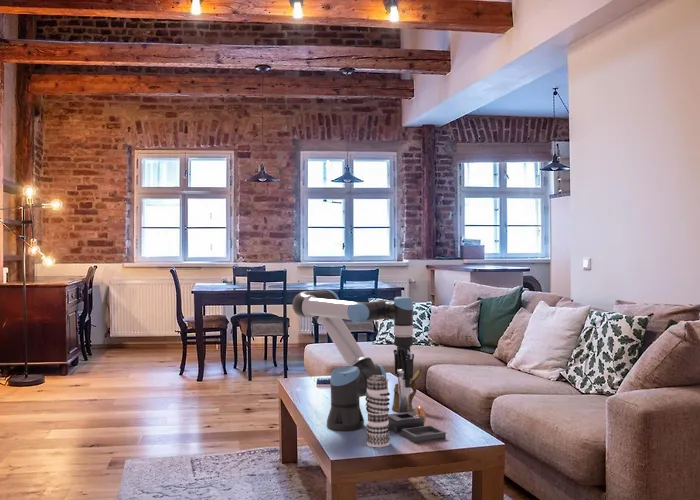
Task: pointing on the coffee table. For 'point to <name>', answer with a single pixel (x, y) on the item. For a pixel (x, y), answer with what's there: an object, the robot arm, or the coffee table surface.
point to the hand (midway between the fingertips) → (403, 394)
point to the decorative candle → (377, 411)
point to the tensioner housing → (406, 420)
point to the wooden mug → (412, 385)
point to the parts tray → (423, 434)
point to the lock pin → (402, 399)
